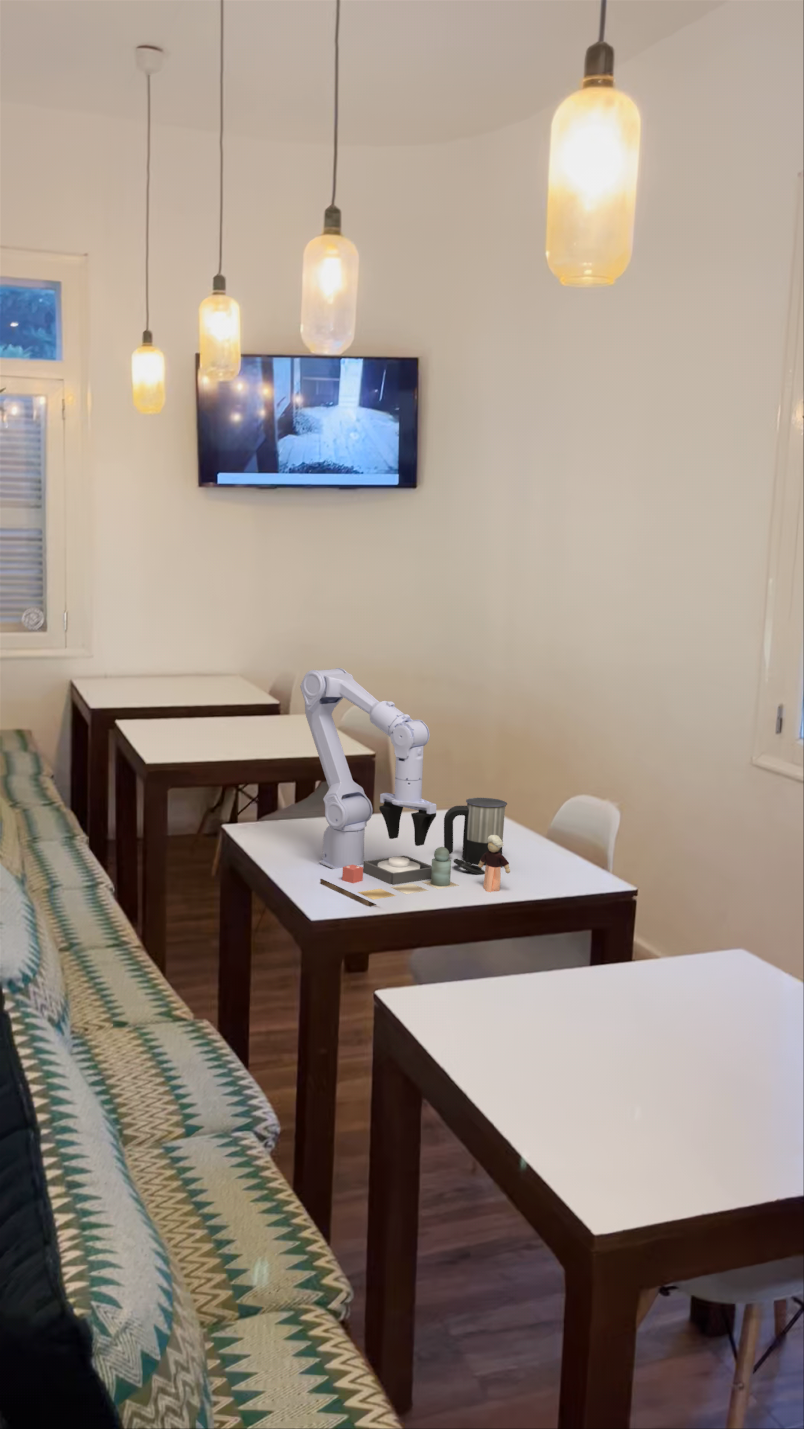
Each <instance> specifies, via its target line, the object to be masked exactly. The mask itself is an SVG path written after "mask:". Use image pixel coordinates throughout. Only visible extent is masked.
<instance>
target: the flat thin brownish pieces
mask: <svg viewBox="0 0 804 1429" xmlns="http://www.w3.org/2000/svg"><path fill="white" fill-rule="evenodd" d="M421 883H422V884H423V885H427V886H429V887H432V888H434V889H437V890H440V889H445V888H446V889H447V888H454V887H458V886H460V884H457V883H454V882H452V881H450V885H449V886H435V885H432V884H431V880H424V881H421ZM320 884H321V885H323V886H325V887H327V888H329V889H331V890H333V891H335V892H336V893H339V894H341V895H344V896H345V897H347V898H350V899H352V900H354V901H356V902H358V903H360V904H363V905H364V906H367V907H372V906H377V904H376V903H375V902H373V901H370V900H367V899H365V898H363V897H362V896H364V897H366V898H368V899H371V900H379V899H385V898H393V897H396V896H397V895H396V894H393V893H391V892H389V891H387V890H385V889H382V888H376V889H370V890H369V889H368V890H364V891H363V890H362V891H358V892H357V893H358V894H360V895H362V896H359V895H357V894H355V893H353V892H351V891H349V890H346V889H345V888H342V887H341V886H338V885H337V884H336V885H335V884H333V883H331V882H329V881H327V880H325V879H323V878H320ZM390 889H393V890H395V891H398V892H400V893H402V894H405V895H408V894H409V895H410V894H416V893H423V892H427V891H429V889H426V888H425V887H421V886H419V885H417V884H415V883H405V884H399V885H392V886H390Z"/></svg>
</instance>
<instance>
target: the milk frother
mask: <svg viewBox="0 0 804 1429" xmlns="http://www.w3.org/2000/svg"><path fill="white" fill-rule="evenodd" d="M465 803H466V805H455V806H452V807H450V808H449V809H448V810H447V811H446V812H445V814H444V818H443V847H445V848H446V849H447V850H448V851H449V855H451V854H452V853H453V851H454V820H455V818H457V817H459V816H464V822H463V823H464V825H463V836H462V838H463V839H462V854H461V856H462V859H463V860H461V859H459V858H454V859H453V863H454V864H455V865H457V866H458V867H460V868H462V869H463V870H465V871H467V872H468V873H470V874H475V875H477V876H481V875H485V869H484V868H483V867H484V866H485V867H486V862H485V863H484V864H483V867H482V868H483V869H482V868H480V867H478V864H479V862H480V859H481V857H482V856H483V854H484V853H486V852H487V851H490V850H489V849H488V841H487V840H488V837H489V836H490V835H497V836H499V838H500V839H501V840H502V842H504V840H503V839H504V827H505V812H506V806H507V805H508V803H507V801H505V800H502V799H499V798H490V797H472V798H466V800H465ZM498 852H499V853H500V854H501V855H503V846H502V847H501V848H500V849H499V851H498ZM501 868H504V867H503V866H502V865H501Z"/></svg>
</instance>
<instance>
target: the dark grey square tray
mask: <svg viewBox="0 0 804 1429" xmlns="http://www.w3.org/2000/svg"><path fill="white" fill-rule="evenodd" d="M396 857H404V858H408V859H409V861H413V862H416V863H418V864H419V865H420V869H417V870H410V871H403V872H396V873H392V872H389V871H387V870H385V869H382V868H380V867H378V863H379V862H381V861H385V860H389V858H391V856H390V857H383V858H378V859H377V858H376V859H370V860H364V861H363V865H362V867H363V874H365V875H367V876H371V877H373V878H374V879H377V880H378V881H380V882H384V883H386V884H389V885H392V886H397V885H403V884H410V883H414V882H419V881H421V882H423V881H429V880H431V868H432V864H431V865H430V864H427V863H426V862H424V861H420V860H417V859H415V858H414V857H413V858H412V857H410V856H408V855H398V856H397V855H396Z"/></svg>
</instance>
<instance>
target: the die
mask: <svg viewBox="0 0 804 1429" xmlns="http://www.w3.org/2000/svg"><path fill="white" fill-rule="evenodd" d="M363 880H364V872H363V866H361V865H358V866H356V865H349V866H345V867H343V868H342V876H341V881H342V882H343V881H344V882H348V883H350V884H356V883H359V882H363Z"/></svg>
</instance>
